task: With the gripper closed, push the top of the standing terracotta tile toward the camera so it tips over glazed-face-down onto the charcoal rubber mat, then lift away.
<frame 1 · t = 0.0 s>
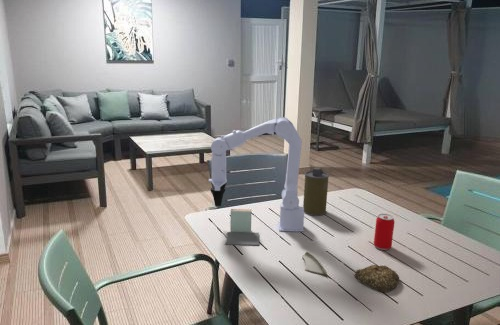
hand: (218, 202, 158), 10 cm above the table, fingers open, 7 cm apart
ceramic fragment: (313, 268, 132), on the table
mossy rock: (378, 280, 125), on the table
canister: (314, 211, 178), on the table
beverage can: (382, 247, 146), on the table
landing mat: (242, 238, 150), on the table
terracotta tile: (240, 231, 156), on the table
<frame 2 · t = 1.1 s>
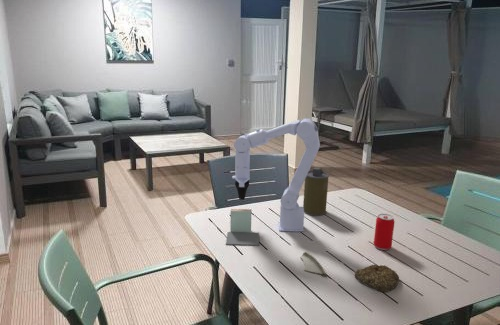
hand: (241, 198, 162), 10 cm above the table, fingers closed
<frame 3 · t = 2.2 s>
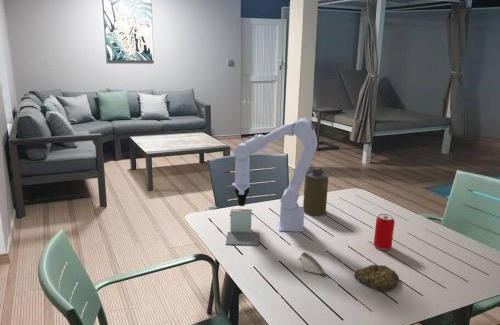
hand: (241, 205, 162), 7 cm above the table, fingers closed
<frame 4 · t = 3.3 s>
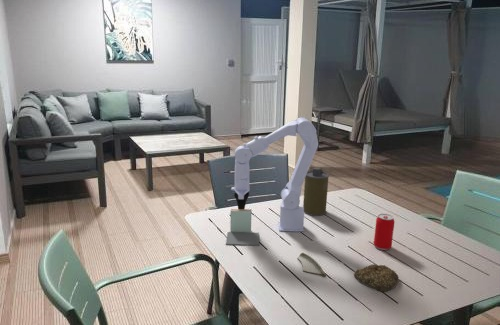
hand: (241, 210, 157), 7 cm above the table, fingers closed
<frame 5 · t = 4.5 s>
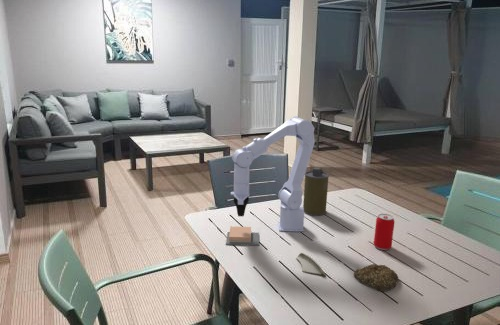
hand: (240, 215, 152), 7 cm above the table, fingers closed
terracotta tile: (240, 229, 155), point 1 cm above the table, tilted 90°, touching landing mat
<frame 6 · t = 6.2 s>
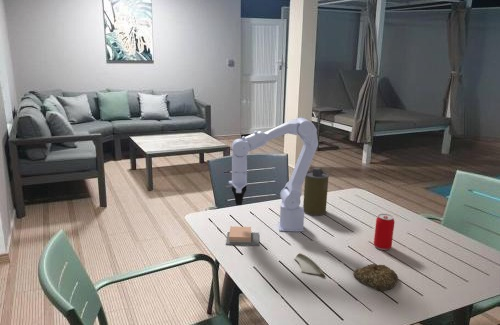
hand: (238, 204, 155), 10 cm above the table, fingers closed
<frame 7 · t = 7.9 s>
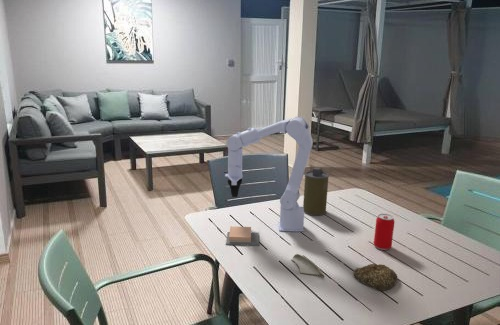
hand: (234, 196, 164), 10 cm above the table, fingers closed
at the end: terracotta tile tilted 90°; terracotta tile touching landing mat; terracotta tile inside the target area (2.2 cm from its centre), point 1.4 cm above the table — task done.
